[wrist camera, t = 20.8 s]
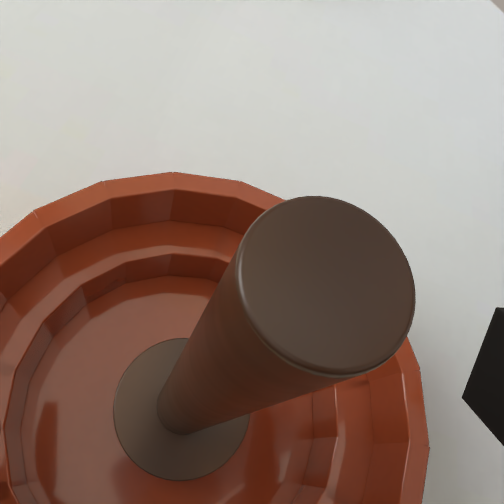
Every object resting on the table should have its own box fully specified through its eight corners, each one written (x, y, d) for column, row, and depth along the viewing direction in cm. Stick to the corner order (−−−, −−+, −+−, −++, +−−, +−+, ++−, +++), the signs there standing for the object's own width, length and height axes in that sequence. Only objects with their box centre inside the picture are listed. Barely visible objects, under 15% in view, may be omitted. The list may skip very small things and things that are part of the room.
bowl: (385, 312, 25) (456, 272, 20) (299, 714, 18) (374, 827, 12) (84, 186, 24) (71, 107, 18) (-143, 565, 16) (-273, 618, 11)
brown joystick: (249, 376, 21) (551, 185, 6) (210, 495, 19) (528, 646, 4) (145, 335, 21) (194, 22, 6) (93, 452, 19) (-45, 436, 4)
